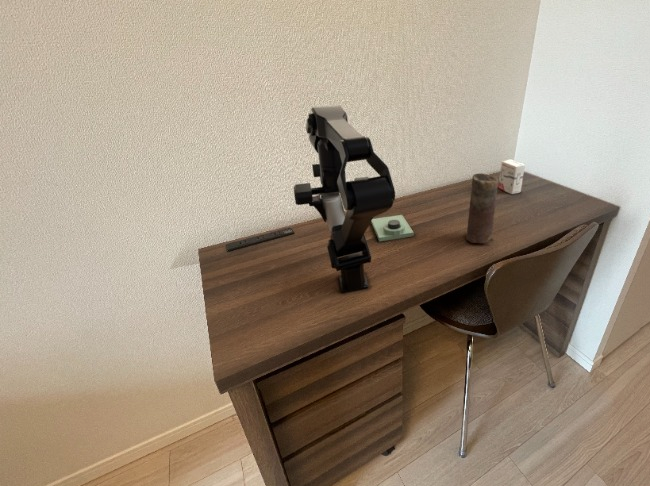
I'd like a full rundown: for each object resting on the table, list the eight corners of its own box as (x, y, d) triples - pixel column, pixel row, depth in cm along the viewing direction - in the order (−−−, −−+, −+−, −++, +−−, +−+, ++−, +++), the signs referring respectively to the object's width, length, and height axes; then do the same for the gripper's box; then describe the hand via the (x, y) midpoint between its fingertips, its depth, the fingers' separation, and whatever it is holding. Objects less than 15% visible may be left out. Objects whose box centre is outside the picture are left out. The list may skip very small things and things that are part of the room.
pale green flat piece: (413, 236, 100) (413, 228, 98) (379, 242, 97) (379, 233, 96) (402, 218, 111) (402, 210, 110) (371, 222, 109) (370, 214, 107)
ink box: (497, 187, 135) (500, 160, 130) (506, 185, 137) (510, 158, 132) (511, 194, 128) (516, 166, 123) (521, 192, 130) (525, 164, 125)
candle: (473, 230, 103) (479, 170, 93) (495, 237, 98) (503, 175, 89) (461, 240, 97) (467, 177, 88) (484, 248, 93) (491, 183, 84)
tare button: (401, 229, 99) (401, 224, 98) (389, 230, 98) (389, 225, 97) (398, 223, 102) (397, 218, 101) (387, 225, 101) (386, 220, 100)
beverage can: (346, 239, 82) (336, 200, 76) (328, 239, 83) (317, 200, 76) (351, 228, 86) (342, 189, 79) (334, 228, 87) (324, 189, 80)
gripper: (364, 147, 83) (366, 200, 91) (288, 153, 78) (298, 209, 86) (374, 164, 74) (375, 220, 82) (290, 172, 69) (300, 231, 77)
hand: (337, 219), depth 82 cm, fingers closed on beverage can, 6 cm apart
